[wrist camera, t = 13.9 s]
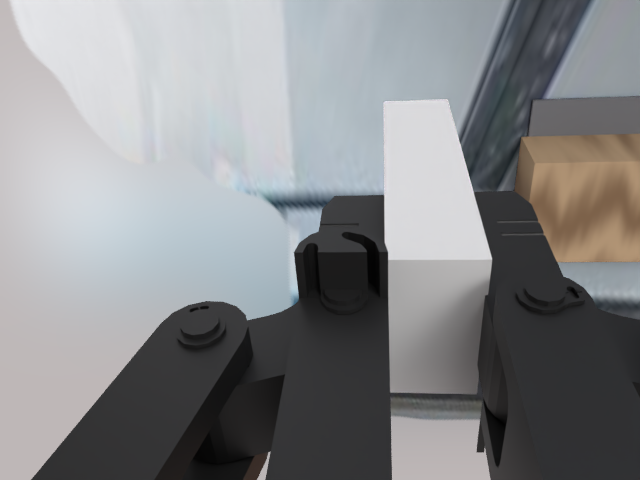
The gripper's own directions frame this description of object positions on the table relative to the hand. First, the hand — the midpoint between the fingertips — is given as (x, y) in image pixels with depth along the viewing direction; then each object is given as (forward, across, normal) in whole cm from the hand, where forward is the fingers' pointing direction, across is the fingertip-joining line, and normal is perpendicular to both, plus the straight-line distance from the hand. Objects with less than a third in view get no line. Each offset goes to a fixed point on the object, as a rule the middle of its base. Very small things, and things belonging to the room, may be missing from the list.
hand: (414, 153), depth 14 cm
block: (+30, +10, -18) cm, 36 cm away
